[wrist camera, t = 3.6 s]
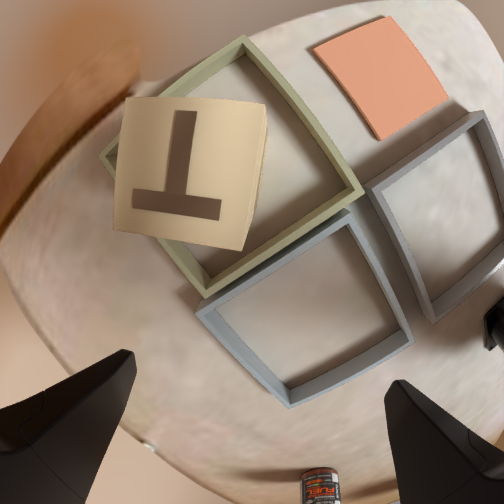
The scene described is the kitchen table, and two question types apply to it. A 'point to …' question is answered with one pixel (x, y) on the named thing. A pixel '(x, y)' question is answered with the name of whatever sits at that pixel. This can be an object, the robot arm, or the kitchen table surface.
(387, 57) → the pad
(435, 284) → the kitchen table surface
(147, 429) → the kitchen table surface
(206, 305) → the tray slate
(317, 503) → the supplement bottle
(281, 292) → the kitchen table surface
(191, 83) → the tray olive
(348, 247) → the kitchen table surface
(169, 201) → the letter block
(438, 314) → the tray charcoal
